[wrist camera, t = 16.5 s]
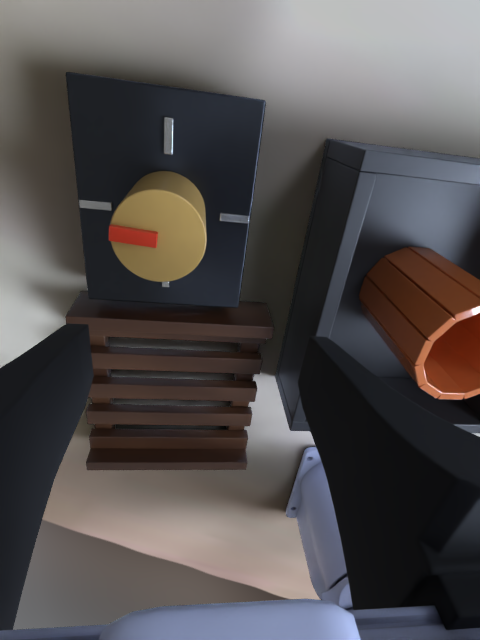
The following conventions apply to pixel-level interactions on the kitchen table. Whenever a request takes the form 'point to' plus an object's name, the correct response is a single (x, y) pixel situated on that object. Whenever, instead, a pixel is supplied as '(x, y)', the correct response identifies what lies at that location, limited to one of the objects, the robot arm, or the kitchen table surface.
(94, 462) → the rack
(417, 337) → the cup
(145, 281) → the black flat block
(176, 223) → the knob
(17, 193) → the kitchen table surface
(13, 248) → the kitchen table surface
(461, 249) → the sink
